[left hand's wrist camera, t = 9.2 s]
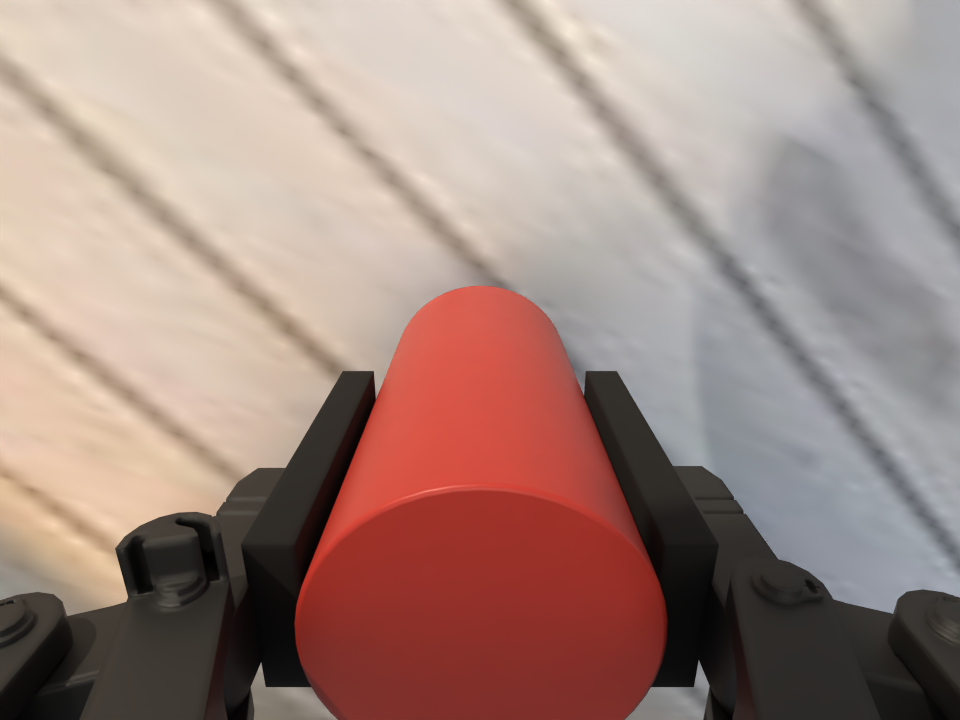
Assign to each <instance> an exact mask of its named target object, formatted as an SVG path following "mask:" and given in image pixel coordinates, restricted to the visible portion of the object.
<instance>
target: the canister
mask: <svg viewBox="0 0 960 720" xmlns="http://www.w3.org/2000/svg"><path fill="white" fill-rule="evenodd" d="M667 627H668V619H667V611H666V602H665V599H664V596H663V592H662V589H661V586H660V583H659V580H658V578H657V575H656V573H655V570H654V568H653V565H652V563H651V560H650V558H649V555H648V553H647V551H646V548H645V546H644V543H643V541H642V538H641V536H640V533H639V531H638V528H637V526H636V523H635V521H634V518H633V516H632V514H631V511H630V509H629V506H628V504H627V501H626V499H625V496H624V494H623V491H622V489H621V486H620V484H619V481H618V479H617V477H616V474H615V472H614V469H613V467H612V464H611V462H610V459H609V457H608V454H607V452H606V449H605V447H604V444H603V442H602V439H601V437H600V435H599V432H598V430H597V427H596V425H595V422H594V420H593V417H592V415H591V412H590V410H589V407H588V405H587V402H586V400H585V398H584V395H583V393H582V390H581V388H580V385H579V383H578V380H577V378H576V375H575V373H574V370H573V368H572V365H571V363H570V361H569V358H568V356H567V353H566V351H565V348H564V346H563V343H562V341H561V338H560V336H559V334H558V332H557V330H556V328H555V326H554V325H553V323H552V322H551V320H550V319H549V318H548V316H547V315H546V314H545V313H544V312H543V311H542V310H541V309H540V308H539V307H538V306H536V305H535V304H534V303H533V302H531V301H530V300H528V299H526V298H525V297H523V296H521V295H519V294H517V293H515V292H512V291H509V290H506V289H502V288H497V287H492V286H471V287H464V288H459V289H455V290H452V291H450V292H447V293H444V294H442V295H440V296H438V297H436V298H435V299H433V300H432V301H430V302H429V303H427V304H426V305H425V306H424V307H423V308H421V309H420V310H419V311H418V312H417V313H416V315H415V316H414V317H413V318H412V319H411V321H410V322H409V324H408V325H407V327H406V328H405V330H404V332H403V335H402V337H401V339H400V342H399V344H398V347H397V349H396V352H395V354H394V357H393V359H392V362H391V364H390V367H389V369H388V372H387V374H386V377H385V379H384V382H383V384H382V387H381V389H380V392H379V394H378V397H377V399H376V402H375V404H374V407H373V409H372V412H371V414H370V417H369V419H368V422H367V424H366V427H365V429H364V432H363V434H362V437H361V439H360V442H359V444H358V447H357V449H356V452H355V454H354V457H353V459H352V462H351V464H350V467H349V469H348V472H347V474H346V477H345V479H344V482H343V484H342V487H341V489H340V492H339V494H338V497H337V499H336V502H335V504H334V507H333V509H332V512H331V514H330V517H329V519H328V522H327V524H326V527H325V529H324V532H323V534H322V537H321V539H320V542H319V544H318V547H317V549H316V552H315V554H314V557H313V559H312V562H311V564H310V567H309V569H308V572H307V574H306V577H305V579H304V582H303V584H302V587H301V590H300V594H299V598H298V601H297V605H296V615H295V636H296V646H297V650H298V654H299V658H300V662H301V665H302V668H303V670H304V673H305V675H306V677H307V680H308V682H309V683H310V685H311V687H312V688H313V690H314V692H315V693H316V695H317V697H318V698H319V699H320V700H321V702H322V703H323V704H324V705H325V707H326V708H327V709H328V710H329V711H330V713H332V714H333V715H334V716H335V717H336V718H337V719H338V720H624V719H625V718H627V717H628V716H629V715H630V714H631V713H632V712H633V711H634V710H635V708H636V707H637V706H638V705H639V703H640V702H641V701H642V700H643V698H644V697H645V696H646V694H647V692H648V691H649V689H650V687H651V686H652V684H653V682H654V681H655V679H656V676H657V674H658V671H659V669H660V666H661V664H662V661H663V656H664V652H665V647H666V642H667Z"/></svg>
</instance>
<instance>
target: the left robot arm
mask: <svg viewBox="0 0 960 720" xmlns="http://www.w3.org/2000/svg"><path fill="white" fill-rule="evenodd" d="M584 398H585V400H586V402H587V405H588V407H589V410H590V412H591V415H592V417H593V420H594V422H595V425H596V427H597V430H598V432H599V435H600V437H601V439H602V442H603V444H604V447H605V449H606V452H607V454H608V457H609V459H610V462H611V464H612V467H613V469H614V472H615V474H616V477H617V479H618V481H619V484H620V486H621V489H622V491H623V494H624V496H625V499H626V501H627V504H628V506H629V509H630V511H631V514H632V516H633V518H634V521H635V523H636V526H637V528H638V531H639V533H640V536H641V538H642V541H643V543H644V546H645V548H646V551H647V553H648V555H649V558H650V560H651V563H652V565H653V568H654V570H655V573H656V575H657V578H658V580H659V583H660V586H661V589H662V592H663V596H664V599H665V602H666V611H667V619H668V627H667V642H666V647H665V652H664V656H663V661H662V664H661V666H660V669H659V671H658V674H657V676H656V679H655V681H654V682H653V684H652V686H651V687H694V683H695V677H696V671H697V666H698V660H699V661H700V664H701V666H702V668H703V671H704V673H705V675H706V678H707V680H708V683H709V685H710V687H709V693H708V698H707V703H706V709H705V714H704V719H703V720H960V598H959V597H955V596H953V595H949V594H947V593H944V592H937V591H929V590H916V591H909V592H906V593H905V594H904V595H902V596H901V597H900V598H899V599H898V601H897V604H896V607H895V610H894V613H893V614H891V613H887V612H882V611H878V610H874V609H869V608H865V607H860V606H856V605H851V604H847V603H844V602H840V601H837V600H833V598H832V596H831V595H830V593H829V592H828V590H827V589H826V587H825V586H824V584H823V583H822V582H821V581H819V580H818V579H817V578H816V577H814V576H813V575H812V574H811V573H809V572H808V571H806V570H804V569H802V568H800V567H798V566H796V565H794V564H792V563H790V562H786V561H782V560H779V559H777V557H776V556H775V554H774V553H773V551H772V550H771V549H770V547H769V546H768V544H767V543H766V542H765V540H764V539H763V537H762V536H761V535H760V533H759V532H758V530H757V529H756V528H755V526H754V525H753V523H752V522H751V521H750V519H749V518H748V516H747V515H746V514H744V513H743V509H742V508H741V506H740V505H739V504H738V502H737V501H736V500H734V497H733V495H732V494H731V492H730V491H729V490H728V488H727V487H726V485H725V484H724V483H723V481H722V480H721V479H719V478H718V477H716V476H715V475H713V474H712V473H711V472H709V471H708V470H706V469H705V468H703V467H702V466H672V464H671V462H670V461H669V459H668V457H667V456H666V454H665V452H664V451H663V449H662V447H661V446H660V444H659V442H658V440H657V439H656V437H655V435H654V434H653V432H652V430H651V429H650V427H649V425H648V423H647V422H646V420H645V418H644V417H643V415H642V413H641V412H640V410H639V408H638V407H637V405H636V403H635V401H634V400H633V398H632V396H631V395H630V393H629V391H628V390H627V388H626V386H625V385H624V383H623V381H622V379H621V378H620V376H619V374H618V373H617V371H586V377H585V392H584ZM375 402H376V397H375V383H374V371H343V372H342V374H341V375H340V377H339V379H338V381H337V382H336V384H335V386H334V387H333V389H332V391H331V392H330V394H329V396H328V397H327V399H326V401H325V403H324V404H323V406H322V408H321V409H320V411H319V413H318V414H317V416H316V418H315V419H314V421H313V423H312V425H311V426H310V428H309V430H308V431H307V433H306V435H305V436H304V438H303V440H302V441H301V443H300V445H299V447H298V448H297V450H296V452H295V453H294V455H293V457H292V458H291V460H290V462H289V463H288V465H287V467H286V468H258V469H256V470H255V471H253V472H252V473H251V474H249V475H248V476H246V477H245V478H243V479H242V480H240V481H239V482H238V483H237V484H236V486H235V487H234V489H233V490H232V491H231V493H230V494H229V496H228V497H227V498H226V502H224V503H223V504H222V506H221V507H220V508H219V510H218V511H217V515H216V516H214V517H212V516H211V515H207V514H203V513H199V512H184V513H175V514H171V515H167V516H163V517H159V518H157V519H154V520H152V521H150V522H148V523H145V524H143V525H141V526H139V527H138V528H136V529H135V530H133V531H132V532H131V533H129V534H128V535H126V536H125V537H124V538H123V540H122V541H121V542H120V543H119V545H118V546H117V547H116V548H115V550H116V553H117V557H118V561H119V564H120V568H121V572H122V576H123V579H124V583H125V587H126V590H127V594H128V599H127V602H125V603H121V604H118V605H114V606H111V607H106V608H102V609H97V610H93V611H88V612H84V613H80V614H75V615H71V616H67V615H66V612H65V608H64V605H63V602H62V601H61V600H60V599H58V598H57V597H56V596H55V595H54V594H47V593H40V592H35V593H28V594H21V595H16V596H13V597H9V598H6V599H3V600H0V720H253V719H254V705H253V698H252V693H251V685H252V682H253V680H254V677H255V675H256V673H257V670H258V668H259V666H260V663H261V662H262V668H263V674H264V679H265V685H266V687H311V685H310V683H309V682H308V680H307V677H306V675H305V673H304V670H303V668H302V665H301V662H300V658H299V654H298V650H297V646H296V636H295V615H296V605H297V601H298V598H299V594H300V590H301V587H302V584H303V582H304V579H305V577H306V574H307V572H308V569H309V567H310V564H311V562H312V559H313V557H314V554H315V552H316V549H317V547H318V544H319V542H320V539H321V537H322V534H323V532H324V529H325V527H326V524H327V522H328V519H329V517H330V514H331V512H332V509H333V507H334V504H335V502H336V499H337V497H338V494H339V492H340V489H341V487H342V484H343V482H344V479H345V477H346V474H347V472H348V469H349V467H350V464H351V462H352V459H353V457H354V454H355V452H356V449H357V447H358V444H359V442H360V439H361V437H362V434H363V432H364V429H365V427H366V424H367V422H368V419H369V417H370V414H371V412H372V409H373V407H374V404H375Z"/></svg>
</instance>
